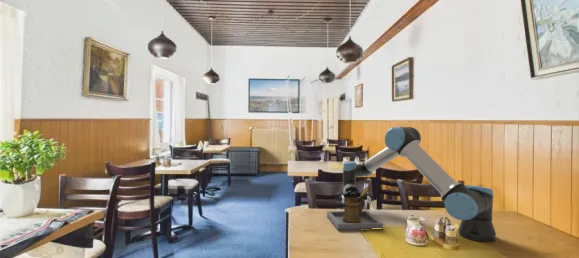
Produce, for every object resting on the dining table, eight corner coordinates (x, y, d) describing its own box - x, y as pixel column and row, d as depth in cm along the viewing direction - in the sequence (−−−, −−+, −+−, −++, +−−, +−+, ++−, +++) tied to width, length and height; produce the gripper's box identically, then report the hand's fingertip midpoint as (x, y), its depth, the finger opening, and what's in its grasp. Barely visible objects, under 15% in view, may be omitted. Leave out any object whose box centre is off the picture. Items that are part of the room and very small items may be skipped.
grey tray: (382, 230, 155) (382, 223, 155) (337, 230, 153) (338, 224, 153) (366, 216, 177) (366, 210, 177) (327, 216, 175) (327, 211, 175)
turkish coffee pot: (371, 223, 161) (372, 187, 161) (344, 223, 160) (345, 187, 160) (366, 218, 170) (367, 184, 170) (340, 218, 169) (341, 183, 169)
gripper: (373, 199, 182) (381, 209, 161) (329, 197, 184) (331, 207, 162) (373, 186, 182) (382, 194, 161) (329, 184, 183) (332, 192, 162)
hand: (356, 201), depth 161 cm, fingers open, 12 cm apart
